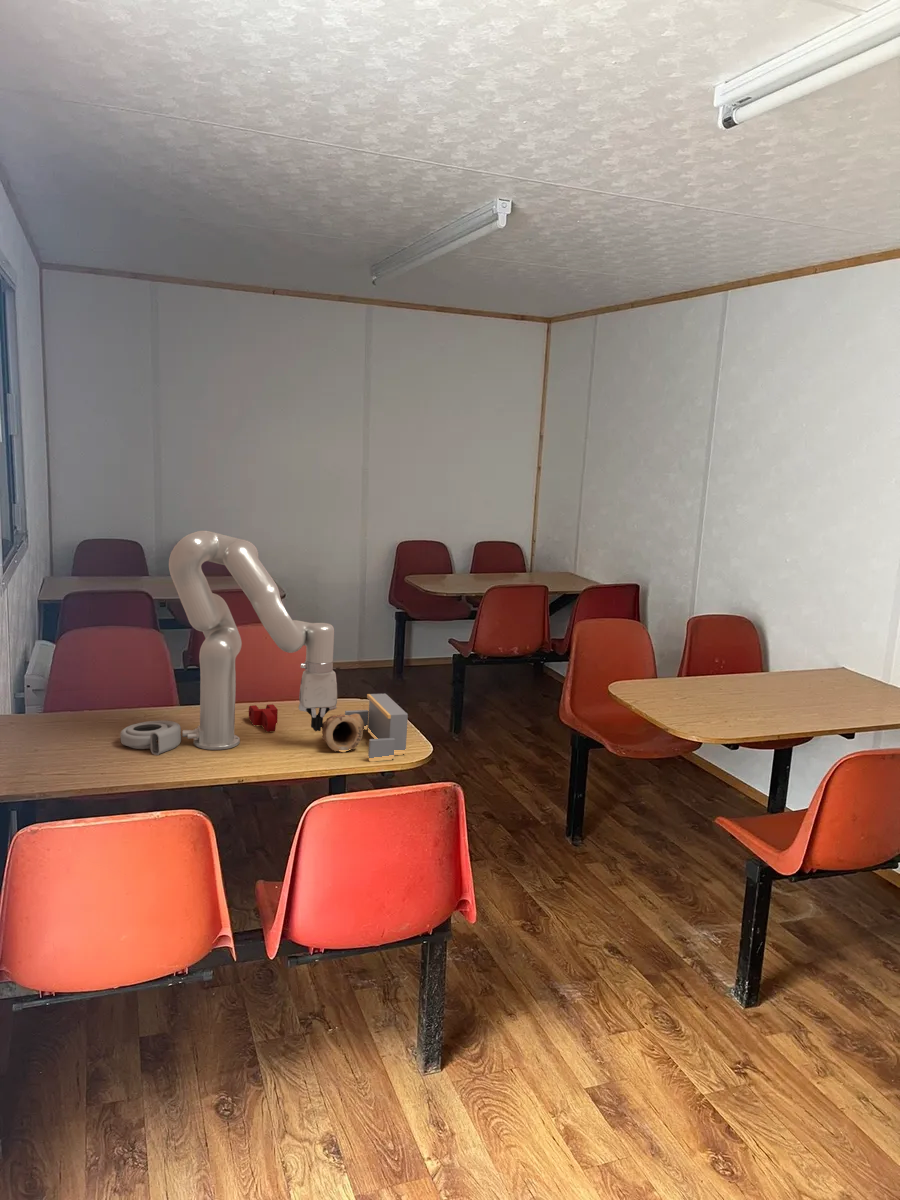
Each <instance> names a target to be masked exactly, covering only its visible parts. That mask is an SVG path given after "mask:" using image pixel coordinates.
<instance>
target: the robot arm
mask: <svg viewBox="0 0 900 1200" xmlns="http://www.w3.org/2000/svg"><path fill="white" fill-rule="evenodd" d="M205 562H210V563H213V564H214V563H215V564H219V565H223V566H225V567H226V569H227V571H228V572H229V573H230V574H231V576H232V578H233V579H234V581H235V582H236V584H238V585H237V586H239V587H240V589H241V591H243V593H244V594H245V596H246V597H247V599H248V601H250V605H252V608H253V610H254V612H255V613H256V615H257V617H258V619H259V620H260V623H261V625H262V626H263V627H264V630H265V631H266V632H267V634H268V635H269V636H270V638H271V639H272V640H273V642H274V643H275V644H276V646H277V648H279V649H281V650H282V652H286V653H288V654H289V653H290V654H292V653H296V652H298V651H299V650H301V648H302V647H303V646H305V647H306V648H305V654H306V655H305V661H304V662H303V663H300V669H304V670H303V672H302V675H301V680H300V686H299V687H300V688H299V700H298V701H299V704H298V707H297V708H298V710H299V711H301V712H305V713H308V714H309V715H310V716H311V719H310V721H311V724H310V727H311V728H312V729H313V731H315V732H322V727H323V722H324V718H325V715H326V714H328V712H330V711H334V710H336V709H337V705H338V683H337V674H336V672H335V670H333V668H334V667H333V664H334V647H335V646H334V645H335V644H334V643H335V642H334V641H335V628H334V626H333V625H332V624H331V623H327V622H308V621H302V620H297V619H292V617H291V616H290V614H289V612H288V611H287V610H286V608H285V606H284V604H283V602H282V598H281V595H280V594H281V593H280V590H279V587H278V585H277V583H276V582H275V580H274V579H273V578H272V576H271V574H270V573H269V572H268V571H267V569H266V567H265V566H264V564H263V562H261V560H260V559H259V551H258V549H257V546H255V545H254V543H253V542H251V541H249V540H247V539H242V538H238V537H234V536H231V535H230V536H229V535H225V534H222V533H219V532H214V531H209V530H198V531H195V532H191V533H189V534H187V535H185V536H184V537H182V538H181V539H180V540H178V542H177V543H176V544H175V545H174V547H173V549H172V550H171V551H170V555H169V559H168V569H169V574H170V577H171V580H172V582H173V585H174V587H175V590H176V592H177V594H178V598H179V601H180V603H181V605H182V607H183V609H184V612H185V614H186V617H187V620H188V623H189V624H190V625H191V627H192V628H193V629H195V630H196V631H199V632H202V633H203V635H204V638H205V639H204V640H203V642H202V644H201V646H200V649H199V656H198V657H199V669H200V670H199V671H200V673H199V675H200V681H199V683H200V686H199V687H200V688H199V689H200V695H199V696H200V698H199V701H200V703H199V725H197V728H194V729H183V730H181V738H187V740H188V739H190V740H191V739H193V745H194V746H195V747H197V748H199V749H203V750H207V751H208V750H210V751H222V750H227V749H228V750H229V749H232V748H235V747H236V746H239V744H240V743H241V741H240V740H241V738H240V736H238V735H236V734H235V725H236V724H235V720H236V719H235V718H236V714H235V713H236V688H237V687H236V685H237V683H236V681H237V680H236V678H237V676H236V675H237V674H236V673H237V672H236V658H237V656H238V655H239V653H240V652H241V649H242V645H243V643H242V637H241V635H240V632H239V629H238V627H237V624H236V623H235V620H234V618H233V615H232V612H231V610H230V608H229V606H228V604H227V602H226V601H225V599H224V598H223V597H221V595H219V594H217V593H213V591H212V589H211V587H210V585H209V581H208V579H207V577H206V576H205V574H204V572H203V569H202V565H203V564H204V563H205ZM316 709H318V712H316V711H317V710H316Z"/></svg>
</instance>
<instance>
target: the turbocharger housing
mask: <svg viewBox="0 0 900 1200" xmlns="http://www.w3.org/2000/svg"><path fill="white" fill-rule="evenodd" d="M181 729H182V727H181V725H180V724H179V723H178V722H176V721H173V720H149V721H148V720H147V721H144V722H142V721H141V722H138V723H134V724H130V725H128V726H126V727H125V728H123V729H122V730H121V731H120V742H121V744H122V745H123V746H127V747H129V748H131V749H138V750H145V749H146V750H148V749H150V752H151V754H152V755H153V754H154V756H159V755H160V754H163V753H165V752H169V751H172V750H174V749H176V748H177V747H178V746H180V743H181V741H182V730H181ZM157 741H158V742H157Z"/></svg>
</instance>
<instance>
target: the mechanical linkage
mask: <svg viewBox="0 0 900 1200" xmlns="http://www.w3.org/2000/svg"><path fill="white" fill-rule="evenodd" d="M265 706H266V707H265V708H259V707H258V706H257V705H255V704H254V705H253V704H252V705H248V719H250V720H251V722H252V723H253V724H252V723H251V722H250V723H251V724H252V725H262V726H263V727H264V728H263V727H262V726H261V727H262V728H263V729H264V730H266V731H267V732H266V731H265V732H266V733H271V732H270V731H275V732H276V728H277V725H276V723H277V724H278V712H279V711H278V708H277V707H276V706H275V705H274V704H273V703H272V704H266V705H265ZM250 720H249V721H250Z"/></svg>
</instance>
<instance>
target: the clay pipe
mask: <svg viewBox="0 0 900 1200" xmlns="http://www.w3.org/2000/svg"><path fill="white" fill-rule="evenodd" d="M363 729H364V722H363V720H362V718H361V716H360V714H352V715H345V714H336V715H330V716H328V717H327V718H326V721H323V727H321V737H322V739H323V741H325V743H326V744H327V746H328V747H329V749H331V750H332V751H333V750H334V751H333V752H336V751H339V750H349V749H353V750H354V749H355V748H356V747H358V745H359V744H360V743H361V741H362V739H363V732H364V730H363Z"/></svg>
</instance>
